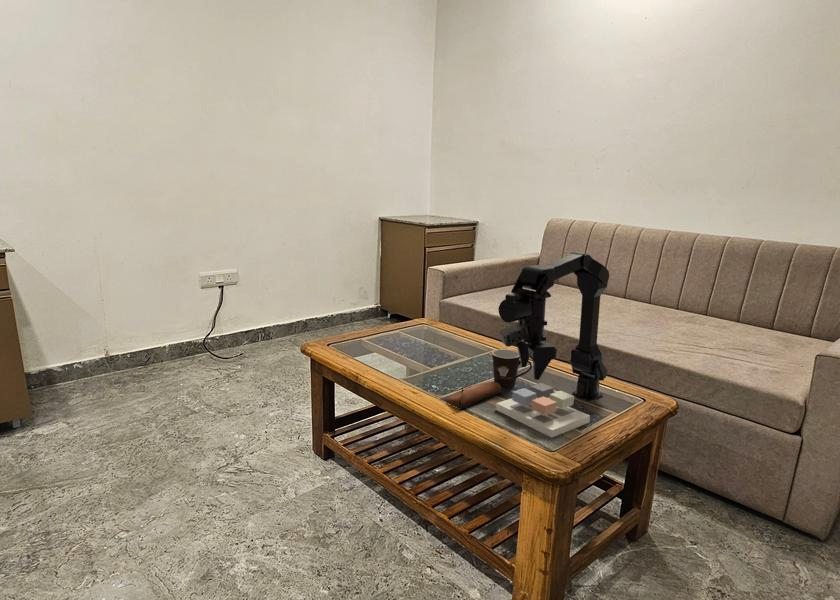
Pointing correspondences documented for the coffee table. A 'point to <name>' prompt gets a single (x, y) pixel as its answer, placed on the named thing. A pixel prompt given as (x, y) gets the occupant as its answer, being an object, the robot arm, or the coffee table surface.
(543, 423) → the keypad board
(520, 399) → the slate key
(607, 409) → the coffee table surface
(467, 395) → the sunglasses case
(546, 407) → the terracotta key
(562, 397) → the sage key
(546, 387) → the charcoal key
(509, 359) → the coffee mug
